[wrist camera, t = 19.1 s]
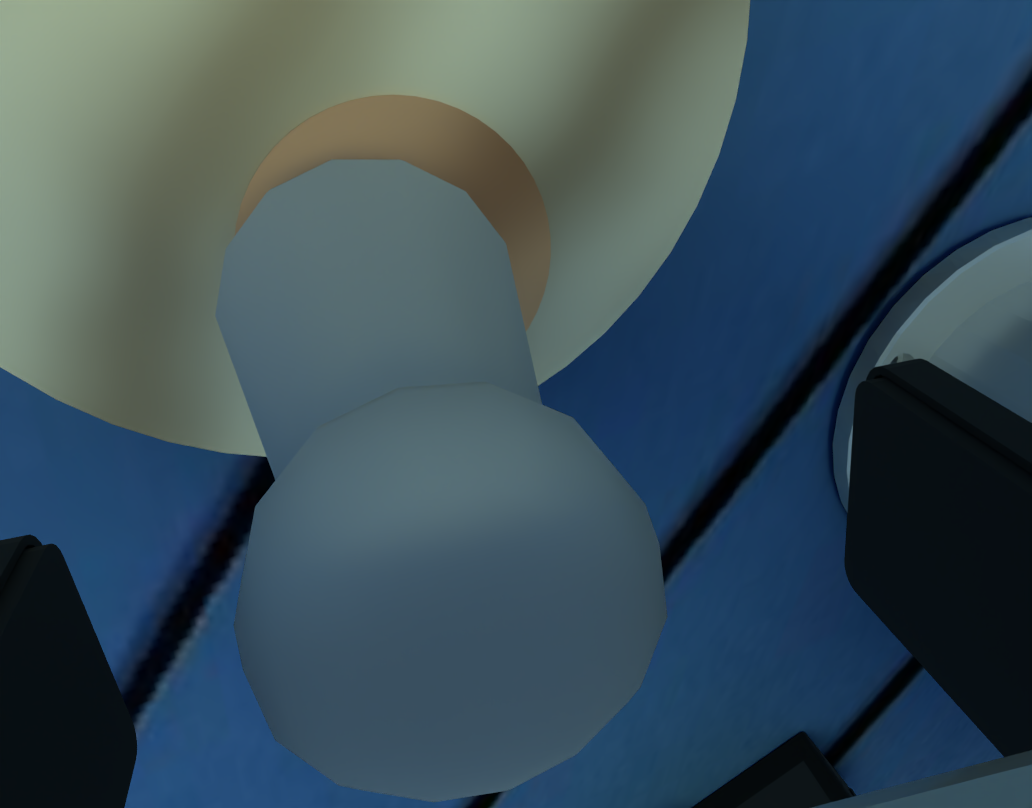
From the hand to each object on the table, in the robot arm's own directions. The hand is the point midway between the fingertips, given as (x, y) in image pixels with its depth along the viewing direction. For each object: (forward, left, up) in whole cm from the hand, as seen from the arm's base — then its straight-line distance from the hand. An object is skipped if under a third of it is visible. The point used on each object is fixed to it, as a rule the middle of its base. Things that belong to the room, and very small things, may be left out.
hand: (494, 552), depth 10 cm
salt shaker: (0, +1, -11) cm, 11 cm away
